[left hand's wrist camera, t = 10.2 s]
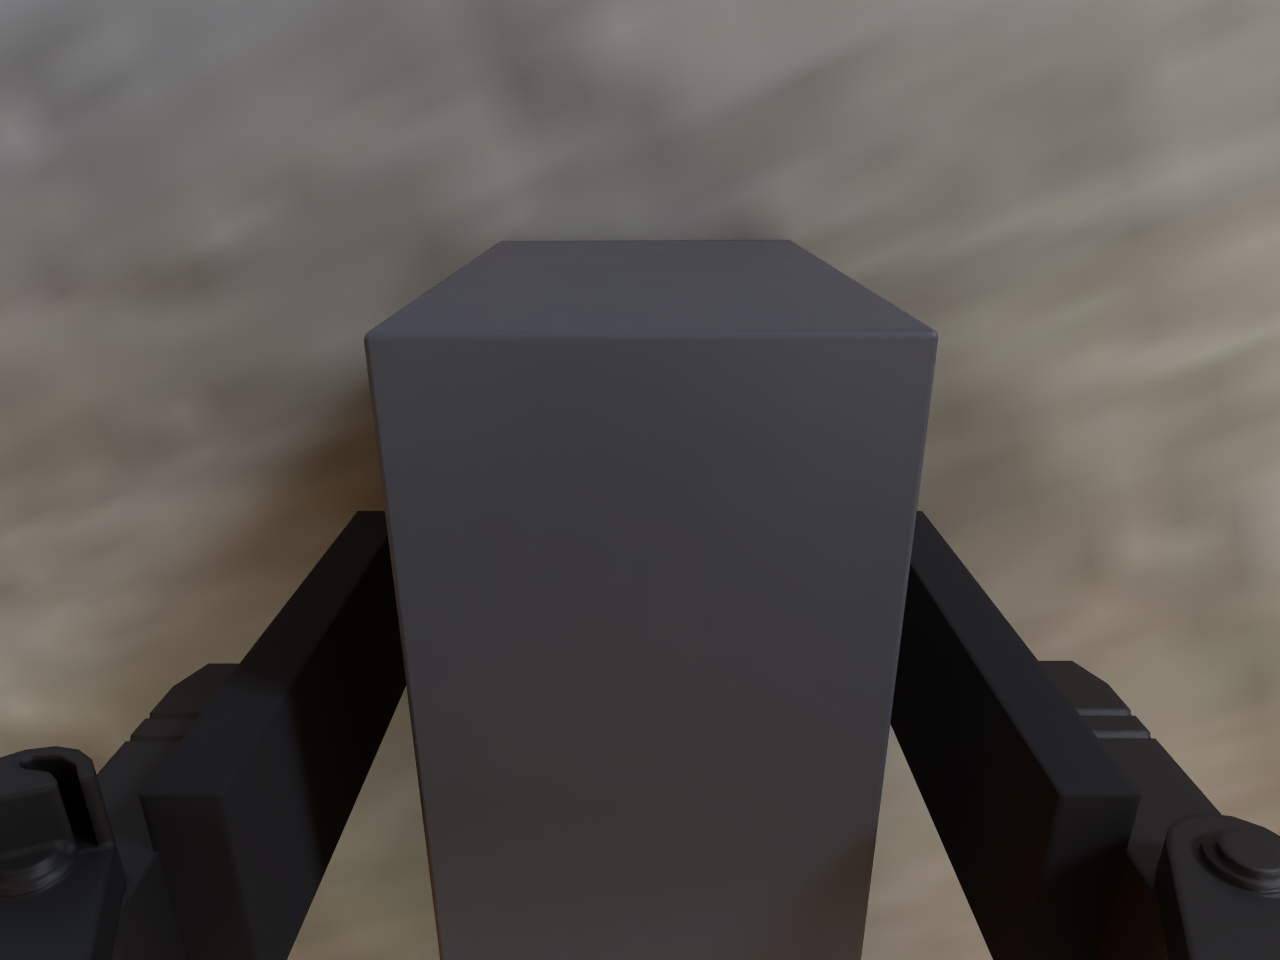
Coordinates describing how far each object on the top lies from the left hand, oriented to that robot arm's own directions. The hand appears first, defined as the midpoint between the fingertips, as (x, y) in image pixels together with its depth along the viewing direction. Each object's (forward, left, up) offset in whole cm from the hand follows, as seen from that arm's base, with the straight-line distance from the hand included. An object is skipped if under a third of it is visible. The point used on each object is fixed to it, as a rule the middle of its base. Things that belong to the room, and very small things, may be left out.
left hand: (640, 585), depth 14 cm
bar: (+32, 0, -2) cm, 32 cm away
